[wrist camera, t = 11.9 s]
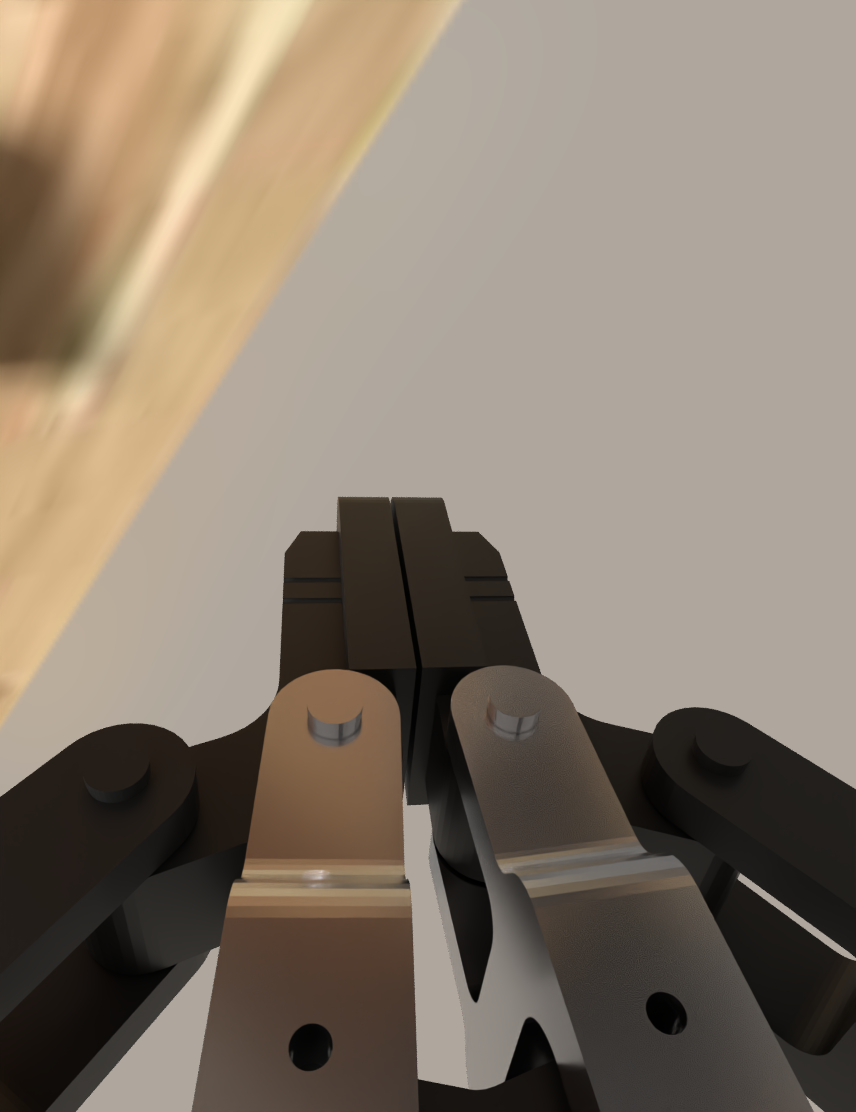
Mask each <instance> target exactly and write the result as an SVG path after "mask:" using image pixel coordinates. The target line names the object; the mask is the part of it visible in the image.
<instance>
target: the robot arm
mask: <svg viewBox="0 0 856 1112" xmlns="http://www.w3.org/2000/svg"><path fill="white" fill-rule="evenodd" d="M337 505H338V506H337V532H330V531H329V532H328V531H326V532H323V531H321V532H320V531H318V532H317V531H310V532H309V531H301V532H300V533H299V535H298V536H297V537H296V539H295V540H294V542H293V543H292V544H291V546H290V547H289V548H288V549H287V551H286V552H285V563H284V585H283V609H282V633H281V655H280V678H279V686H278V691H277V694H276V696H275V698H274V700H273V702H272V703H271V705H270V706H269V708H268V709H267V710H266V711H265V712H264V713H263V714H262V715H261V716H260V717H259V718H258V719H257V720H255V721H254V722H253V723H251V724H249V725H248V726H246V727H245V728H243V729H241V730H239V731H237V732H235V733H233V734H230V735H227V736H224V737H222V738H218V739H215V740H212V741H208V742H205V743H201V744H198V745H194V746H191V747H188V745H187V744H186V743H185V742H184V741H183V739H181V738H180V737H179V736H177V735H176V734H175V733H173V732H171V731H169V730H167V729H165V728H161V727H158V726H155V725H148V724H131V723H130V724H121V725H115V726H111V727H107V728H103V729H100V730H98V731H95V732H92V733H90V734H88V735H86V736H84V737H82V738H80V739H78V740H77V741H75V742H74V743H72V744H71V745H69V746H68V747H67V748H65V749H64V750H63V751H61V752H60V753H59V754H57V755H56V756H55V757H53V758H52V759H50V760H49V761H48V762H46V763H45V764H44V765H42V766H41V767H40V768H38V769H37V770H36V771H35V772H33V773H32V774H30V775H29V776H28V777H26V778H25V779H24V780H22V781H21V782H20V783H18V784H17V785H16V786H14V787H13V788H12V789H10V790H9V791H8V792H6V793H5V794H4V795H2V796H1V797H0V1112H76V1111H77V1110H78V1108H79V1107H80V1106H81V1105H82V1104H83V1103H84V1101H85V1100H86V1099H87V1098H88V1097H89V1096H90V1095H91V1093H92V1092H93V1091H94V1090H95V1089H96V1088H97V1086H98V1085H99V1084H100V1083H101V1082H102V1081H103V1079H104V1078H105V1077H106V1076H107V1075H108V1074H109V1072H110V1071H111V1070H112V1069H113V1068H114V1067H115V1066H116V1064H117V1063H118V1062H119V1061H120V1060H121V1059H122V1057H123V1056H124V1055H125V1054H126V1053H127V1051H128V1050H129V1049H130V1048H131V1047H132V1046H133V1045H134V1044H135V1042H136V1041H137V1040H138V1039H139V1038H140V1037H141V1035H142V1034H143V1033H144V1032H145V1030H147V1028H148V1027H149V1026H150V1025H151V1024H152V1023H153V1022H154V1020H155V1019H156V1018H157V1017H158V1016H159V1014H160V1013H161V1012H162V1011H163V1010H164V1009H165V1008H166V1006H167V1005H168V1004H169V1003H170V1002H171V1001H172V1000H173V998H174V997H175V996H176V995H177V994H178V992H179V991H180V990H181V989H182V988H183V987H184V986H185V984H186V983H187V982H188V981H189V980H190V979H191V977H192V976H193V975H194V974H195V973H196V971H198V969H199V968H200V967H201V965H202V964H203V962H204V961H205V959H206V958H207V955H208V954H209V952H210V950H211V949H214V948H216V947H219V946H220V949H219V954H218V961H217V966H216V972H215V978H214V984H213V990H212V996H211V1001H210V1007H209V1013H208V1019H207V1024H206V1030H205V1036H204V1042H203V1048H202V1054H201V1059H200V1065H199V1071H198V1077H197V1083H196V1089H195V1094H194V1101H193V1106H192V1112H814V1111H813V1109H812V1107H811V1106H810V1104H809V1101H808V1100H807V1098H806V1096H807V1097H808V1098H809V1099H810V1100H811V1101H813V1102H814V1103H815V1104H816V1105H817V1106H818V1107H820V1108H821V1109H822V1110H823V1111H824V1112H856V961H854V960H851V959H848V958H846V957H844V956H842V955H840V954H839V953H837V952H836V951H834V950H833V949H831V948H830V947H829V946H827V945H825V944H824V943H823V942H822V941H820V940H819V939H818V938H816V937H815V936H813V935H812V934H811V933H809V932H808V931H807V930H805V929H804V928H803V927H801V926H800V925H799V924H797V923H796V922H795V921H793V920H792V919H790V918H789V917H788V916H786V915H785V914H784V913H782V912H781V911H780V910H778V909H777V908H776V907H774V906H773V905H771V904H770V903H768V902H767V901H766V900H765V899H763V898H762V897H761V896H759V895H758V894H757V893H755V892H753V891H752V890H751V889H750V888H748V887H747V886H746V885H744V884H743V883H741V882H740V881H739V880H738V879H737V878H738V876H739V874H740V873H741V874H743V875H744V876H745V877H747V878H748V879H750V880H751V881H752V882H754V883H755V884H756V885H758V886H759V887H761V888H762V889H763V890H765V891H766V892H767V893H769V894H770V895H771V896H773V897H774V898H776V899H777V900H778V901H780V902H781V903H782V904H784V905H785V906H787V907H788V908H789V909H791V910H792V911H794V912H795V913H796V914H798V915H799V916H800V917H802V918H803V919H804V920H806V921H807V922H809V923H810V924H811V925H813V926H814V927H815V928H817V929H818V930H819V931H821V932H822V933H824V934H825V935H826V936H828V937H829V938H830V939H832V940H833V941H835V942H836V943H837V944H839V945H840V946H841V947H843V948H844V949H845V950H847V951H848V952H850V953H851V954H852V955H853V956H855V958H856V789H854V788H852V787H851V786H850V785H848V784H846V783H845V782H843V781H841V780H839V779H838V778H836V777H835V776H833V775H831V774H830V773H828V772H827V771H825V770H823V769H822V768H820V767H819V766H817V765H815V764H814V763H812V762H810V761H809V760H807V759H806V758H803V757H802V756H801V755H799V754H797V753H796V752H794V751H792V750H791V749H789V748H788V747H786V746H784V745H783V744H781V743H779V742H778V741H776V740H775V739H773V738H771V737H770V736H768V735H766V734H765V733H763V732H762V731H760V730H758V729H757V728H755V727H753V726H752V725H750V724H748V723H747V722H745V721H743V720H741V719H739V718H737V717H735V716H733V715H730V714H728V713H725V712H721V711H718V710H714V709H708V708H698V707H697V708H696V707H693V708H684V709H679V710H675V711H673V712H671V713H669V714H667V715H666V716H664V717H663V718H662V719H661V720H660V721H659V723H658V724H657V725H656V728H655V730H654V732H653V734H652V733H648V732H643V731H639V730H634V729H630V728H625V727H620V726H616V725H612V724H608V723H604V722H600V721H597V720H594V719H592V718H589V717H587V716H584V715H582V714H580V713H579V712H577V711H576V709H575V707H574V705H573V703H572V701H571V700H570V698H569V696H568V695H567V694H566V693H565V692H564V690H563V689H562V688H561V687H559V686H558V685H557V684H556V683H555V682H553V681H552V680H550V679H549V678H547V677H545V676H544V675H542V674H541V672H540V669H539V666H538V663H537V661H536V658H535V655H534V652H533V649H532V647H531V643H530V640H529V637H528V634H527V631H526V629H525V626H524V623H523V620H522V617H521V614H520V611H519V608H518V605H517V602H516V601H514V594H513V591H512V588H511V585H510V582H509V581H508V580H507V573H506V570H505V568H504V564H503V562H502V559H501V556H500V553H499V552H498V551H497V550H496V549H495V548H494V547H493V546H492V545H491V544H490V543H489V542H488V541H487V540H486V539H485V538H484V537H483V536H482V535H481V534H480V533H479V532H452V529H451V526H450V522H449V518H448V515H447V511H446V507H445V503H444V500H443V499H442V498H417V497H412V498H411V497H406V498H405V497H392V499H391V503H390V501H389V498H388V497H338V503H337ZM404 782H405V790H406V798H407V805H421V804H422V805H423V804H429V810H430V816H431V823H432V835H431V843H430V849H429V864H430V869H431V874H432V878H433V883H434V887H435V892H436V896H437V901H438V905H439V910H440V914H441V919H442V923H443V928H444V932H445V937H446V941H447V945H448V949H449V954H450V959H451V963H452V967H453V972H454V977H455V981H456V986H457V990H458V994H459V999H460V1004H461V1008H462V1014H463V1020H464V1028H465V1040H466V1067H467V1078H468V1086H469V1089H465V1088H460V1087H455V1086H449V1085H445V1084H439V1083H434V1082H429V1081H424V1080H419V1079H418V1076H417V1075H418V1074H417V1045H416V1015H415V987H414V986H415V985H414V956H413V927H412V903H411V890H410V883H409V880H408V879H406V878H405V868H404V835H403V801H402V800H403V792H404ZM805 1095H806V1096H805Z"/></svg>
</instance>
